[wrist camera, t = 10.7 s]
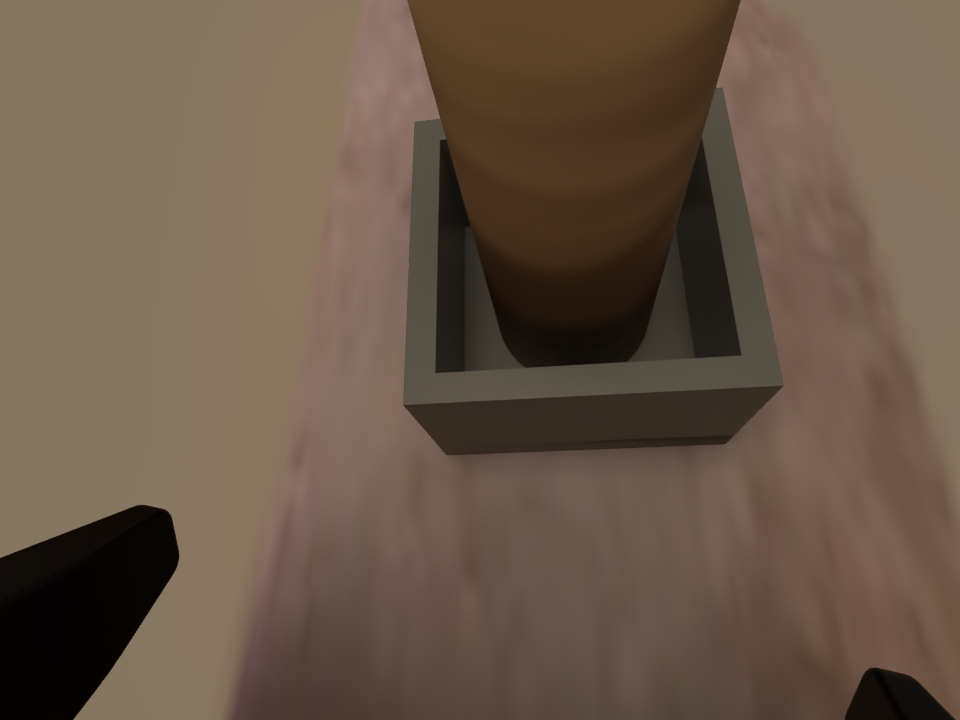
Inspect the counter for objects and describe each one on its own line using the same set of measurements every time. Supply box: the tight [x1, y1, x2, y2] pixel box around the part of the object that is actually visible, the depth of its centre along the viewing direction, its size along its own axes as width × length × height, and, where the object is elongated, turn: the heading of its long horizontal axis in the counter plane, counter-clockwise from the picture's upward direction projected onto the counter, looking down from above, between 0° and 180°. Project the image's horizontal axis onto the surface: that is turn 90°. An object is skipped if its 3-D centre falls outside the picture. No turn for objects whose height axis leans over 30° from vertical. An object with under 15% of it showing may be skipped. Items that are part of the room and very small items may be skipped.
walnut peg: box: [408, 0, 740, 368], centre depth 12 cm, size 4×4×13 cm
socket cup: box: [403, 88, 784, 455], centre depth 16 cm, size 8×8×5 cm
